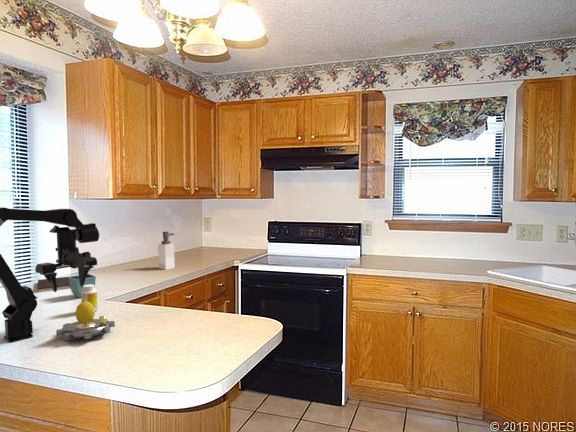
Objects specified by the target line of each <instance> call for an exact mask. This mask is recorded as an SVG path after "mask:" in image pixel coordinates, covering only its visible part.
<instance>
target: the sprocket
mask: <svg viewBox="0 0 576 432" xmlns="http://www.w3.org/2000/svg"><path fill="white" fill-rule="evenodd" d="M115 325H116V322H115V320H111V321H109V320H108V319H107V316H106V315H99V318H93V320H92V321H91V322H89V323H88V324H87V325H84V324H83V323H80V322H79V321H78V320H77V321H74V322H72V323H71V322H70V323H69V322H66V323H63V324H62V328H59V329H56V332H55V333H56V337H59V336H61V337H62V340H64V341H66V340H67V341H69V340H71V339H84V340H87V339H92V337H91V336H93V337H94V336H95V337H96V336H99V335H101V334H109V333H110V332H111V328H115Z"/></svg>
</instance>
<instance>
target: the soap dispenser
mask: <svg viewBox="0 0 576 432" xmlns="http://www.w3.org/2000/svg"><path fill="white" fill-rule="evenodd" d="M174 235H175V233H173V232H172V233H169V231H162V240H161V243H160V244H157V252H158V269H161V270H171V269H175V267H176V266H175V243H171V240H170V239H169V238H170V237H169V236H174Z"/></svg>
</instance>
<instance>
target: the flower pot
mask: <svg viewBox="0 0 576 432" xmlns="http://www.w3.org/2000/svg"><path fill="white" fill-rule="evenodd" d="M67 277H68V278H69V284H70V290H71V293H72V294H73V295H74V296H75V297H77V298H78V299H81V292H82V291H83V287H81V286H80V282H79V274H77V275H71V277H70V276H67ZM96 277H97V276H95V275H93V274H90V273H88V274H87V276H86V279H85V282H84V285H89V284H93V285H94V287H96V282H97V281H96ZM84 285H83V286H84Z"/></svg>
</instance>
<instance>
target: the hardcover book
mask: <svg viewBox="0 0 576 432" xmlns="http://www.w3.org/2000/svg"><path fill="white" fill-rule="evenodd" d="M71 276H72V275H71ZM71 276H62V277H56V284H57V291H60V290H69V289H70V290H71V288H70V284H69V278H68V277H71ZM36 290H37V293H44V292H52V291H53V289H52V287H51V286H50V284H49V282H48V280H47V279H46V278H44V279H42V278H41V279H38V280H37V286H36ZM53 292H54V291H53Z"/></svg>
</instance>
